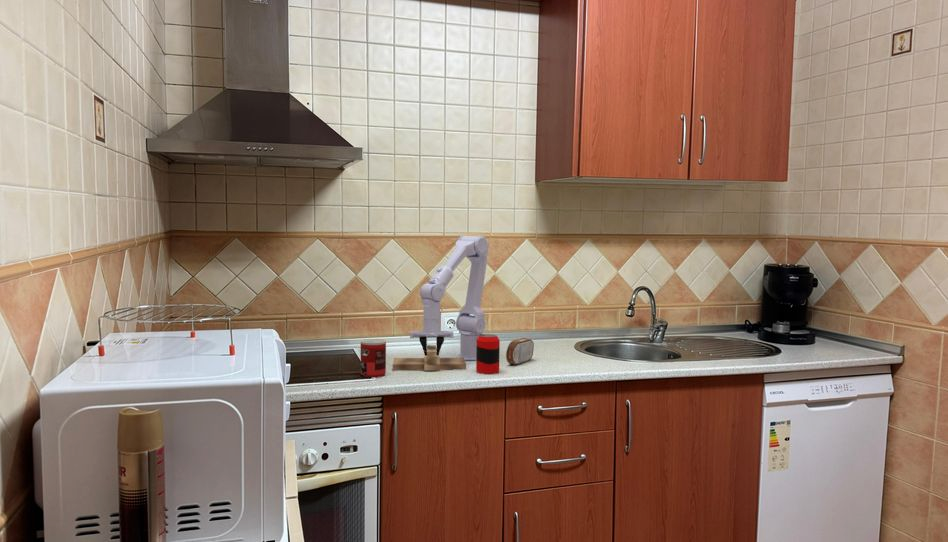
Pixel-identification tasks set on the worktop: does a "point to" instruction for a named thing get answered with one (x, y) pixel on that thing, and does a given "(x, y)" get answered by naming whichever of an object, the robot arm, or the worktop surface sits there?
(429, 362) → the wooden block
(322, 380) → the worktop surface
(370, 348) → the canned food
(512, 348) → the tin
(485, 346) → the soda can
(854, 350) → the worktop surface
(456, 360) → the board
